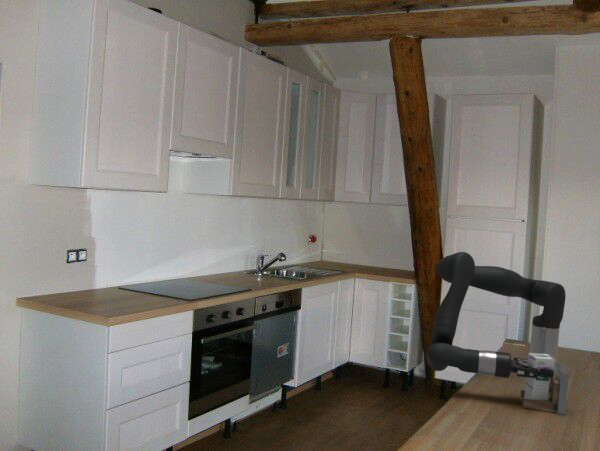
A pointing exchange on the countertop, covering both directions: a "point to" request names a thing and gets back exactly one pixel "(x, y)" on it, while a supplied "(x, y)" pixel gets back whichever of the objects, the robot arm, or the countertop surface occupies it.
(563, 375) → the plate
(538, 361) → the syrup box
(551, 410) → the cradle
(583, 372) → the countertop surface
